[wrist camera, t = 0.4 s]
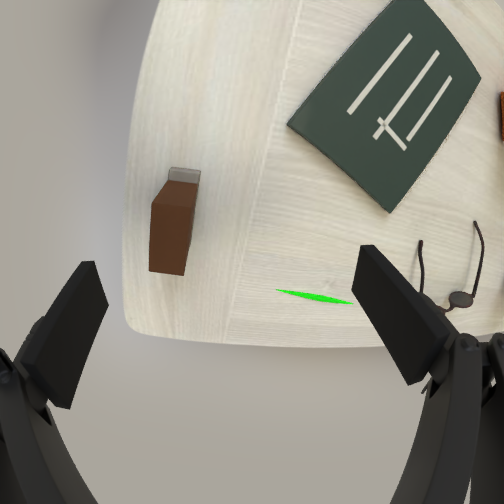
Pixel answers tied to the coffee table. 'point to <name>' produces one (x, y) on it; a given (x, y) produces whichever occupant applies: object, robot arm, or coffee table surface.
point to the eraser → (173, 222)
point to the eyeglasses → (458, 297)
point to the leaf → (315, 297)
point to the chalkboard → (390, 100)
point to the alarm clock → (503, 105)
